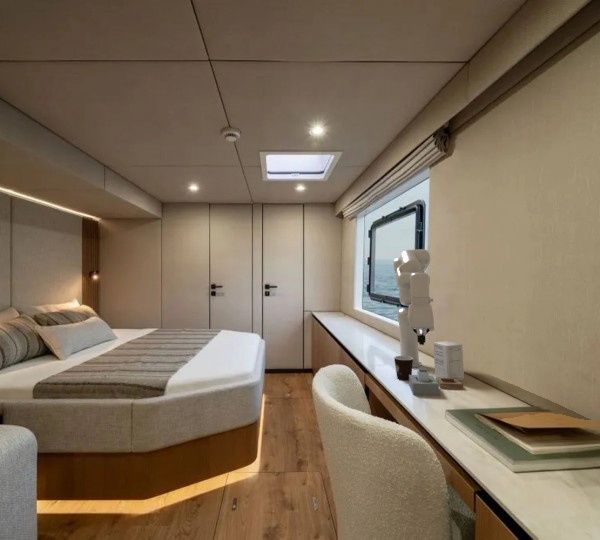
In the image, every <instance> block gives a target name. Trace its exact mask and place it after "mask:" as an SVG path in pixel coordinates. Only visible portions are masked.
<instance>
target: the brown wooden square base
mask: <svg viewBox="0 0 600 540" xmlns="http://www.w3.org/2000/svg"><path fill="white" fill-rule="evenodd" d="M435 380H436V381H437V383H438V384H439V389H446V390H449V389H450V390H463V389H464V385H463V383H462V381H461V380H458V379H457V378H441V377H436V376H435Z"/></svg>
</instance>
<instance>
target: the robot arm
mask: <svg viewBox="0 0 600 540" xmlns="http://www.w3.org/2000/svg"><path fill="white" fill-rule="evenodd" d="M430 263H431V255H430V253H429V251H428V250H427V249H424V248H421V249H420V248H419V249H406V250H404V251H403V252H401V254H400V257H397V258H395V259H394V260H393V266H392V267H393V271H394V274H395V280H396V285H397V287H398V298H399V302H400V304H401V305H403V306H408V307H402V308H399V309H398V310H397V322H398V328H399V345H400V346H399V348H400V356H409V357H412V358H413V364H412V368H421V367H422V365H423V363H422V362H421V361H420V360H419V345H420V346H424V345H425V343H426V335H427V334H428V333H429V332H434V331H435V326H434V325H435V324H434V323H435V321H434V312H433V306H432V304H431V303H433V302H434V299H433V298H431V297H430V284H431V278H430V275H429V274H428V273H426V272H425V271H426V270H427V269H428V267H429V266H430ZM420 329H422V331H420Z"/></svg>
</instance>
